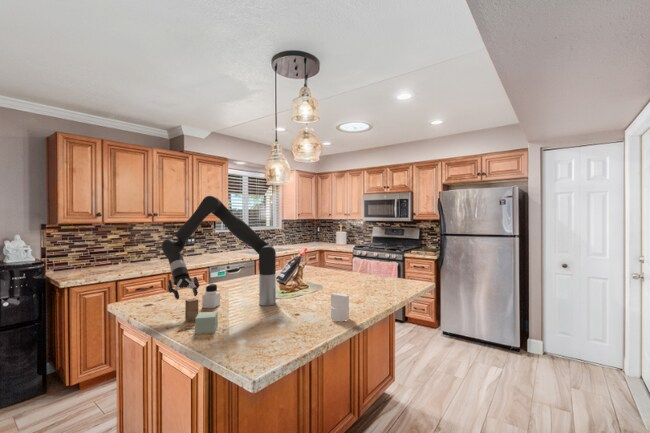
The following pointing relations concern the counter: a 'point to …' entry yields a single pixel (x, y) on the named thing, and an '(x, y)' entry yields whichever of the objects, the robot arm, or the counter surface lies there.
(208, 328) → the sage slab lower
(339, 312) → the light grey block
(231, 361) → the counter surface
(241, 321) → the counter surface
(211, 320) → the sage slab upper
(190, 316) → the walnut block
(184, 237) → the robot arm
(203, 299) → the medicine bottle
